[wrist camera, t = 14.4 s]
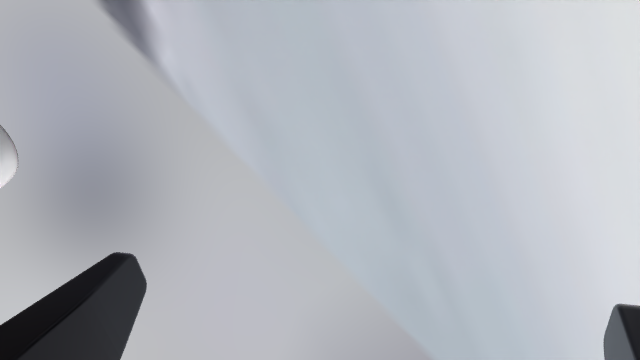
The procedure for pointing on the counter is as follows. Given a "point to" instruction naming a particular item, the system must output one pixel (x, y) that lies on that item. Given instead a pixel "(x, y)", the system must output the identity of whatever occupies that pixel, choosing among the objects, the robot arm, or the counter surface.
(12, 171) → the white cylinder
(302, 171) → the counter surface
